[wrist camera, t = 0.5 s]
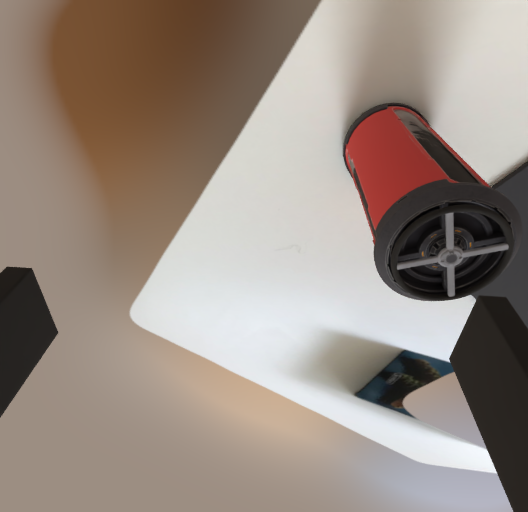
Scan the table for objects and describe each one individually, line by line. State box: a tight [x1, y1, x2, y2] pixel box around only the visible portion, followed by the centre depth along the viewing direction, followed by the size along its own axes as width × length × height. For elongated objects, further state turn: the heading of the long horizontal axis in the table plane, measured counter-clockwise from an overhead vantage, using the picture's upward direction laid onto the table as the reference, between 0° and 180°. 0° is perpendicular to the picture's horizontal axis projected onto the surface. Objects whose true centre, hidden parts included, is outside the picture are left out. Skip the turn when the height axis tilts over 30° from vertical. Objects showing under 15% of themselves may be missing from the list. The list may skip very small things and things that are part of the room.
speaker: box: [343, 103, 522, 301], centre depth 28 cm, size 8×8×18 cm
